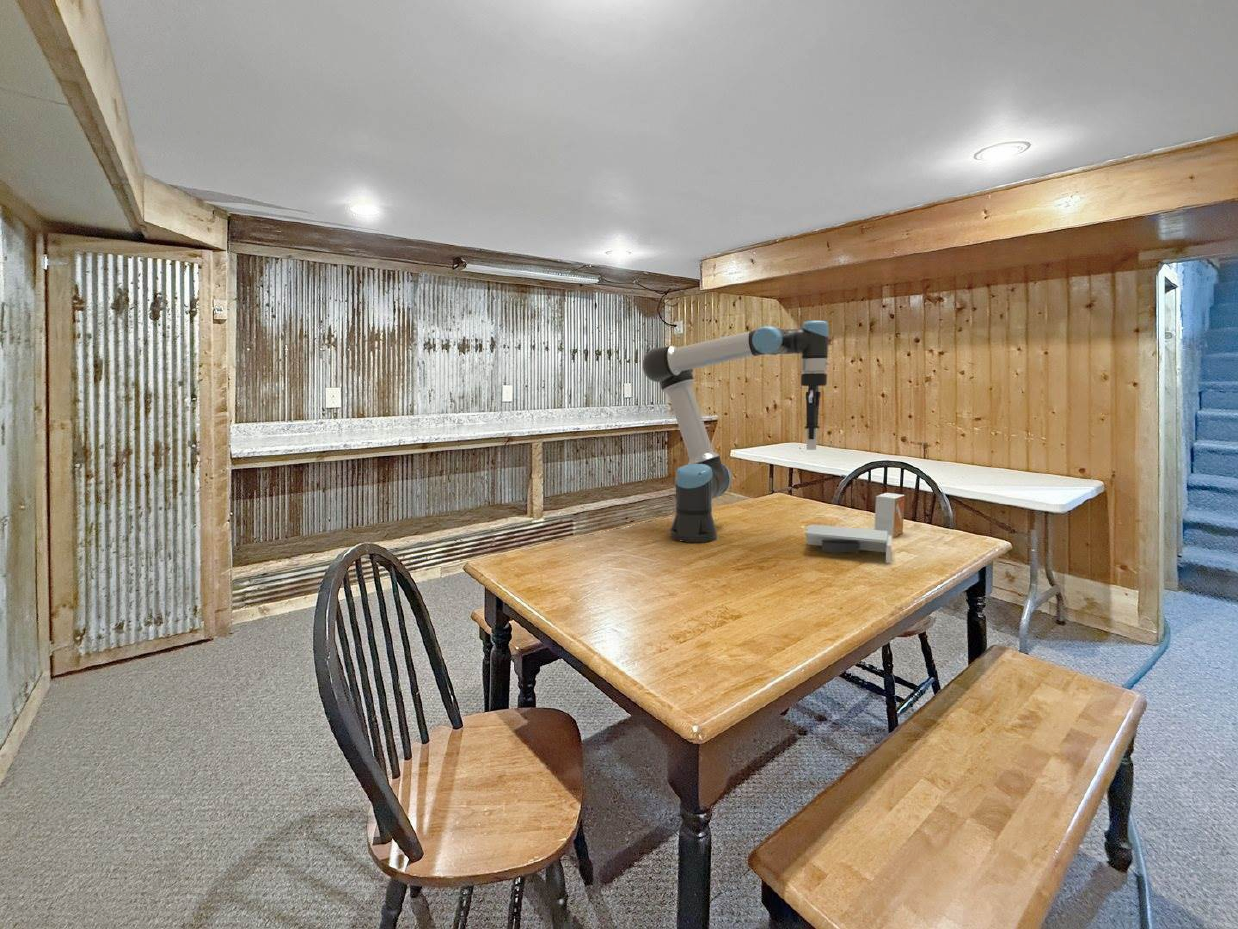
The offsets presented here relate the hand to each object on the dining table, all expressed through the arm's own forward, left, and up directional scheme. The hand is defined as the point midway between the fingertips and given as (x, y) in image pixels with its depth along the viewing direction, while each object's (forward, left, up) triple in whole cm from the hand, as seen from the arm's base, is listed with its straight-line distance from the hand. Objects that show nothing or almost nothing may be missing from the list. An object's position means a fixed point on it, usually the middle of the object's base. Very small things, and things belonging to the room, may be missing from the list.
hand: (811, 449), depth 183 cm
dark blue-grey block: (+10, -8, -30) cm, 32 cm away
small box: (+23, +17, -29) cm, 41 cm away
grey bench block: (+12, -9, -29) cm, 33 cm away
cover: (+12, -10, -24) cm, 29 cm away
